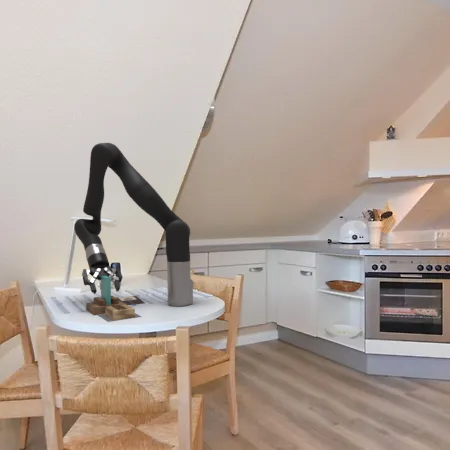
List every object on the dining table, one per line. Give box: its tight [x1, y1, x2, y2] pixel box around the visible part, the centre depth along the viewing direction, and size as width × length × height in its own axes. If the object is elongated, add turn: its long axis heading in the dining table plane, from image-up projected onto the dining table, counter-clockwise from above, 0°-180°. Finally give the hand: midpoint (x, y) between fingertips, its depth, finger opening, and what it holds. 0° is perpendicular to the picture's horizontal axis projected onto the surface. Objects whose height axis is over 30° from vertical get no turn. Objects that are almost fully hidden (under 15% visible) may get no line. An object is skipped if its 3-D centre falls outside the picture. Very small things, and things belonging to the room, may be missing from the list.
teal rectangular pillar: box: [100, 276, 112, 305], centre depth 162 cm, size 2×6×10 cm, turn 33°
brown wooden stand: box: [85, 294, 126, 316], centre depth 162 cm, size 12×10×5 cm
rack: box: [105, 304, 136, 321], centre depth 153 cm, size 7×9×3 cm
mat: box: [97, 312, 142, 323], centre depth 153 cm, size 12×12×1 cm
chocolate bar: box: [115, 295, 146, 306], centre depth 181 cm, size 9×1×18 cm
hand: (106, 291), depth 161 cm, fingers open, 8 cm apart
